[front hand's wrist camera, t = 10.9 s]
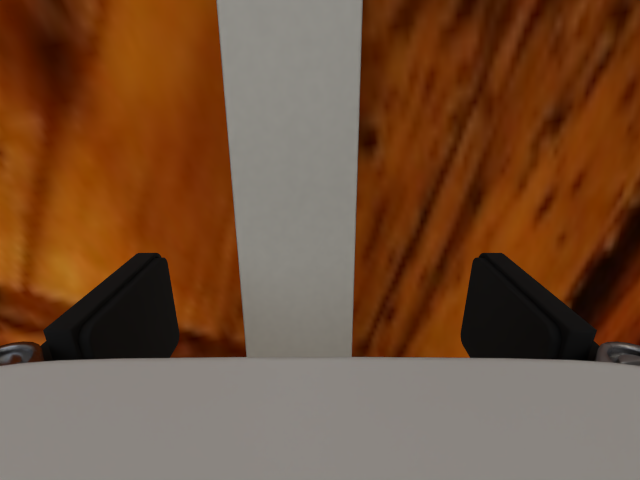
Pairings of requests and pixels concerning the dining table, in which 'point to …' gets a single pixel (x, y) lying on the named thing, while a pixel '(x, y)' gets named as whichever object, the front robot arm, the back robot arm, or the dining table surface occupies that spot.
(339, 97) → the beam
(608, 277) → the dining table surface
